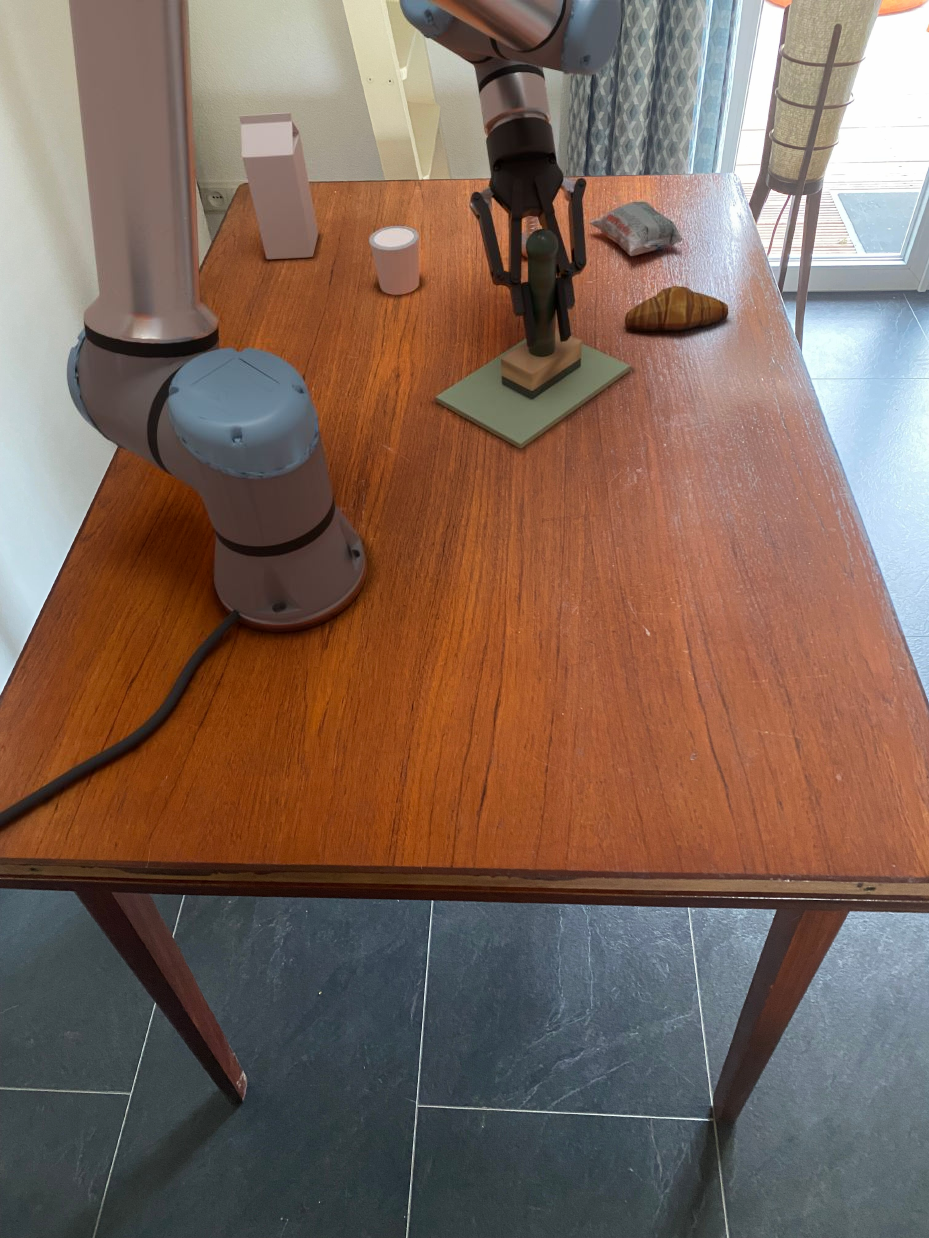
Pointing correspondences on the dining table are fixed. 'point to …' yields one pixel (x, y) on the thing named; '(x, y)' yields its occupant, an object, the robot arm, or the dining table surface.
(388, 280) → the yogurt cup
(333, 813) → the dining table surface
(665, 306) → the croissant
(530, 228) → the screw
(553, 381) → the scrub brush
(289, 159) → the milk carton
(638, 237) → the packaged food
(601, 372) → the mat
